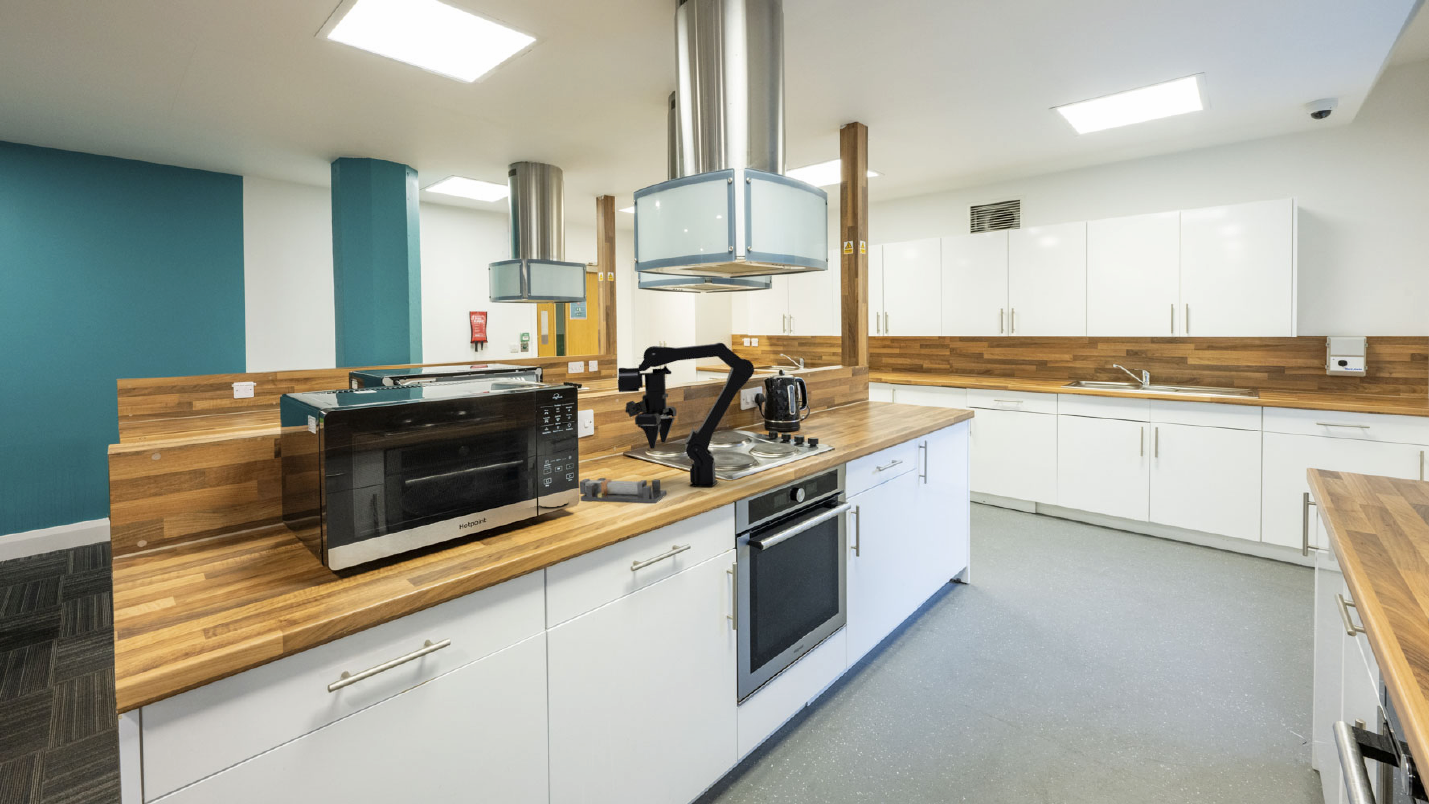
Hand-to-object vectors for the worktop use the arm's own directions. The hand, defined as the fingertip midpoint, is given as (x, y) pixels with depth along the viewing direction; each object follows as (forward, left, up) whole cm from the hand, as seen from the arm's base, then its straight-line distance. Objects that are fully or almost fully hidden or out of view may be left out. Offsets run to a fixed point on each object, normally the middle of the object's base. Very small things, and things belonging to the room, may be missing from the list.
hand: (658, 445), depth 170 cm
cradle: (+6, +12, -12) cm, 18 cm away
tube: (+9, +12, -11) cm, 19 cm away
